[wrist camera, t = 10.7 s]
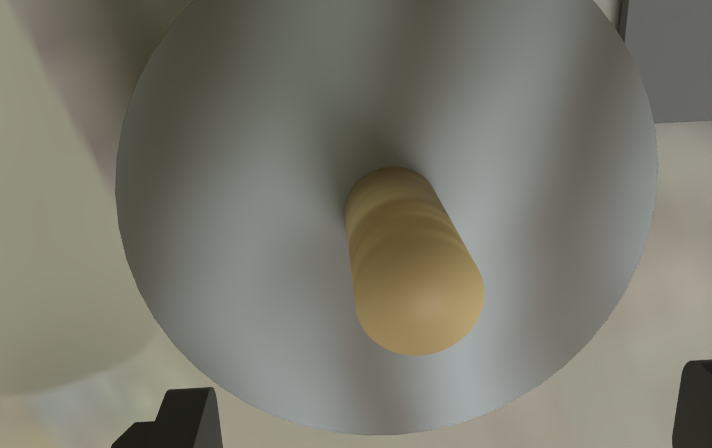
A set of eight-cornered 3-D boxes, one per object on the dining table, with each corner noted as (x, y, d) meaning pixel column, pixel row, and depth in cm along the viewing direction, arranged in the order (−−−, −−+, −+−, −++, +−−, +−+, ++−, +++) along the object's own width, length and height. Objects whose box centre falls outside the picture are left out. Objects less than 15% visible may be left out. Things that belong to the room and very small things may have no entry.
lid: (675, -91, 19) (862, -126, 13) (615, 402, 25) (721, 552, 19) (79, -71, 19) (-49, -96, 12) (163, 432, 24) (108, 599, 18)
